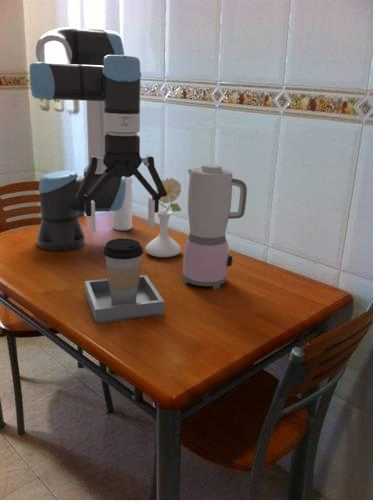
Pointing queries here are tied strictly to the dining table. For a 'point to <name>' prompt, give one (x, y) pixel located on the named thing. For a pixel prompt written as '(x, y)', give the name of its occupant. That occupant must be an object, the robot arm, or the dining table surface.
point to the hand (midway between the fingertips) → (122, 227)
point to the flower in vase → (166, 223)
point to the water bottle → (124, 210)
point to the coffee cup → (123, 269)
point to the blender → (210, 224)
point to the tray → (107, 312)
